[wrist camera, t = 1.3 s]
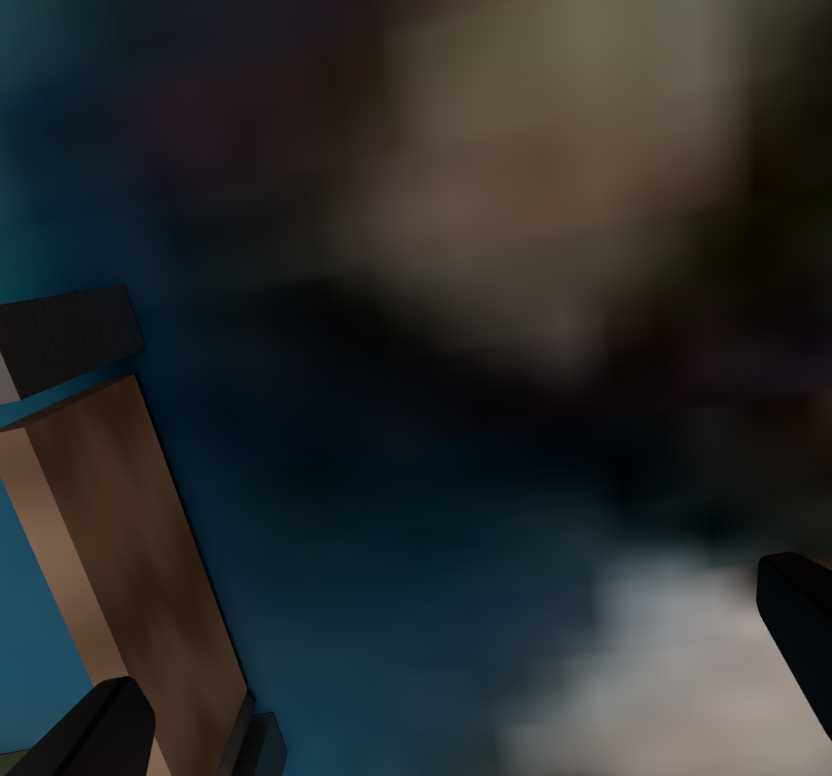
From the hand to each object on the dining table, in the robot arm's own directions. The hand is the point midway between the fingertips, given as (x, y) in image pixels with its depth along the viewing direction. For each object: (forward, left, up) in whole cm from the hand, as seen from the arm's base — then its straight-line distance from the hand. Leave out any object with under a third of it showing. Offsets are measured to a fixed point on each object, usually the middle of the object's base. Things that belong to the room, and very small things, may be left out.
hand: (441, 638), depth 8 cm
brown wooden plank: (-5, +12, -13) cm, 18 cm away
